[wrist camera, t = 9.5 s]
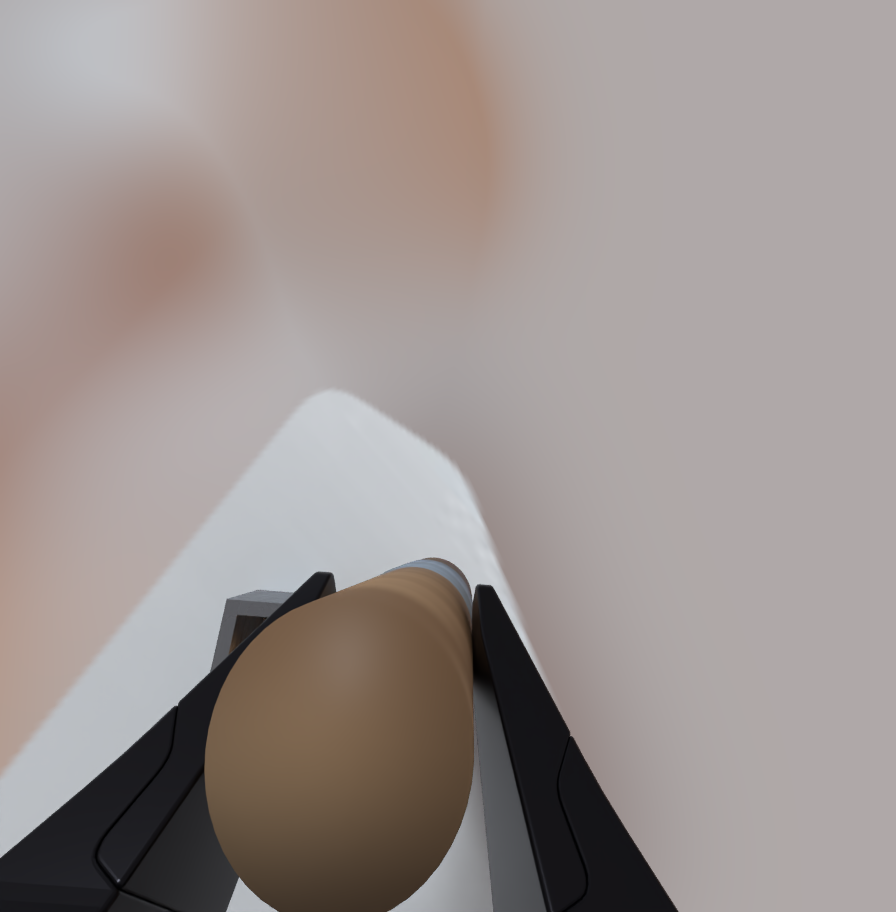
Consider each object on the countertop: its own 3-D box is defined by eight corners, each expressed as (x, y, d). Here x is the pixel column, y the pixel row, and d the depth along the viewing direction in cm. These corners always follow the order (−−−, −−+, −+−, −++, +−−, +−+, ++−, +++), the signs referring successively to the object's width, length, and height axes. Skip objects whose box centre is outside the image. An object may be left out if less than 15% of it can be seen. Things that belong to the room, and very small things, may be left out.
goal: (300, 737, 18) (274, 775, 15) (228, 731, 18) (188, 769, 15) (323, 595, 20) (303, 605, 17) (257, 589, 20) (226, 598, 17)
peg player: (471, 647, 14) (471, 957, 4) (388, 639, 15) (167, 904, 4) (474, 559, 15) (483, 603, 5) (396, 554, 16) (235, 583, 5)
